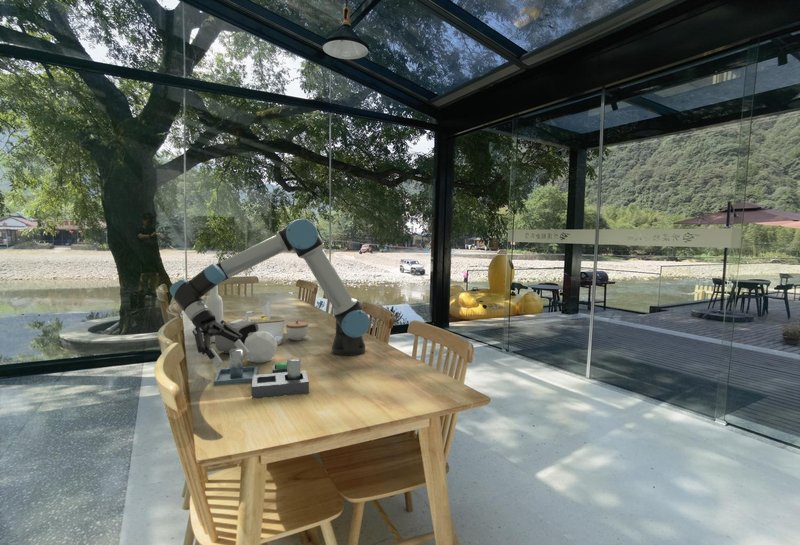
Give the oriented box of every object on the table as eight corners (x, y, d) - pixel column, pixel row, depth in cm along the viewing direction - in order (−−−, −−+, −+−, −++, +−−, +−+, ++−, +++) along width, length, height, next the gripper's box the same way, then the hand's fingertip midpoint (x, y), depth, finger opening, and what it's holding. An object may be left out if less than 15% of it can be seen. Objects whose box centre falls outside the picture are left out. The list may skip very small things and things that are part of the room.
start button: (288, 369, 159) (288, 361, 158) (288, 373, 155) (288, 365, 154) (276, 370, 157) (275, 362, 157) (276, 374, 153) (276, 366, 153)
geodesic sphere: (240, 357, 161) (261, 326, 166) (229, 349, 172) (248, 320, 176) (269, 373, 169) (288, 343, 174) (257, 364, 180) (275, 336, 184)
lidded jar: (305, 341, 208) (305, 322, 207) (283, 341, 208) (283, 322, 207) (310, 336, 218) (310, 318, 217) (289, 336, 218) (289, 318, 218)
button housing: (291, 373, 160) (291, 362, 160) (292, 379, 154) (292, 368, 153) (272, 374, 158) (272, 364, 158) (272, 380, 152) (272, 370, 151)
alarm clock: (235, 357, 181) (234, 326, 180) (215, 355, 182) (214, 325, 181) (259, 344, 201) (259, 317, 200) (241, 343, 203) (240, 316, 201)
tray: (257, 371, 162) (257, 365, 162) (256, 383, 149) (256, 377, 148) (218, 374, 158) (218, 368, 158) (213, 387, 145) (213, 381, 144)
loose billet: (243, 374, 156) (242, 348, 155) (242, 378, 152) (242, 351, 151) (230, 375, 155) (230, 349, 154) (229, 379, 150) (229, 352, 150)
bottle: (205, 343, 202) (203, 281, 200) (207, 339, 210) (206, 279, 207) (223, 342, 204) (221, 281, 202) (225, 338, 212) (223, 279, 209)
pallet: (305, 381, 152) (305, 370, 151) (308, 393, 140) (308, 381, 140) (253, 386, 146) (253, 374, 146) (252, 399, 135) (251, 386, 135)
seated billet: (300, 385, 148) (299, 357, 147) (301, 390, 143) (300, 361, 142) (287, 386, 146) (286, 358, 145) (287, 391, 142) (287, 362, 141)
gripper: (177, 314, 144) (213, 362, 140) (230, 303, 167) (262, 344, 163) (166, 328, 146) (201, 376, 142) (220, 316, 169) (251, 356, 166)
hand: (234, 359), depth 153 cm, fingers open, 13 cm apart
